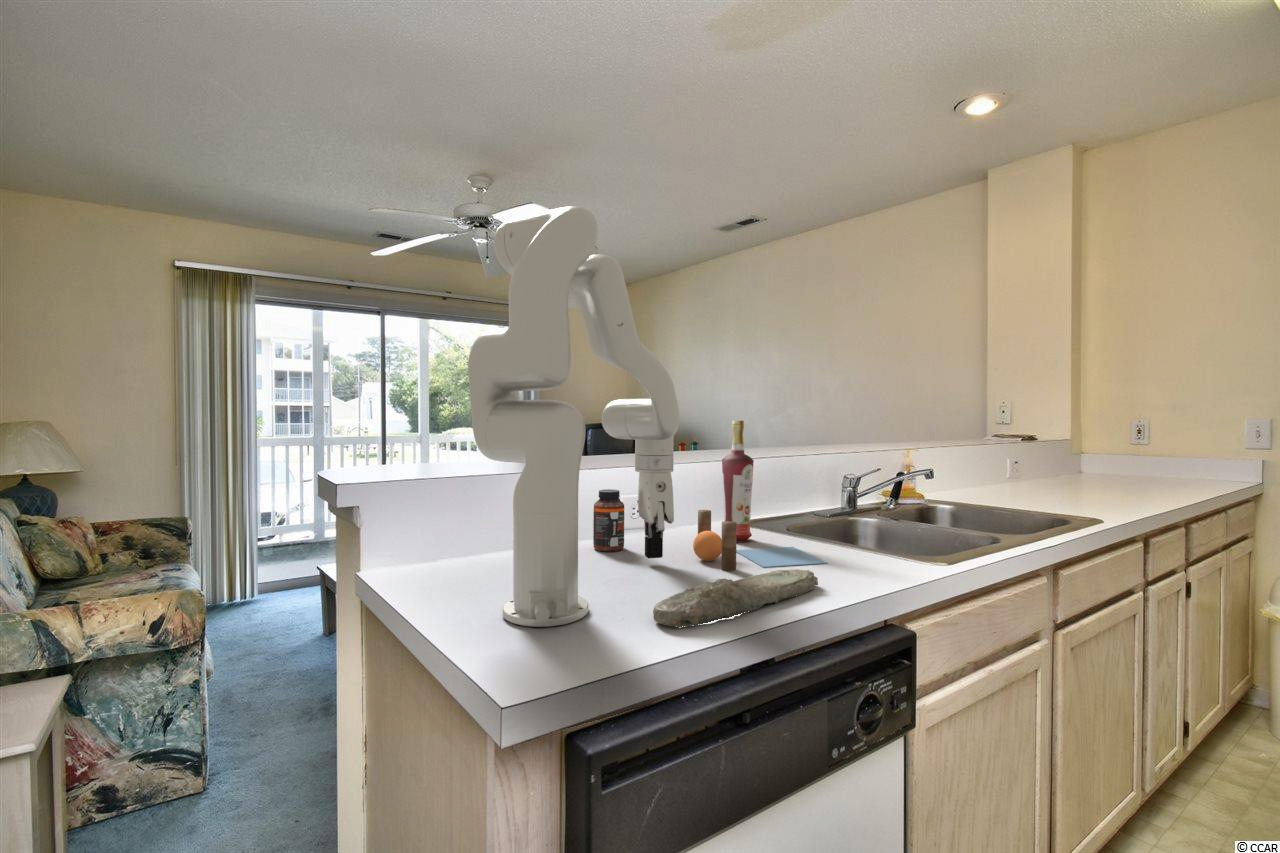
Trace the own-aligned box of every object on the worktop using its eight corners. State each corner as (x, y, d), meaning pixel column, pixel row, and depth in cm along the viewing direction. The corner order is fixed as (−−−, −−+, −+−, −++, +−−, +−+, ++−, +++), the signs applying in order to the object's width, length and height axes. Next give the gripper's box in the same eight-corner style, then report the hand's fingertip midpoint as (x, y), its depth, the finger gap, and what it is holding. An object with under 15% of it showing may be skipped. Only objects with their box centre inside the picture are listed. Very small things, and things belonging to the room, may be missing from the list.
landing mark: (827, 563, 117) (827, 562, 117) (763, 567, 114) (763, 566, 114) (792, 547, 131) (792, 546, 131) (734, 551, 127) (734, 550, 127)
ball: (727, 532, 117) (699, 537, 115) (729, 561, 117) (701, 567, 115) (714, 525, 122) (687, 530, 121) (716, 553, 123) (689, 558, 121)
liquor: (738, 545, 133) (739, 421, 132) (714, 539, 139) (715, 420, 138) (759, 540, 138) (760, 420, 137) (735, 535, 143) (736, 420, 143)
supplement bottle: (623, 552, 125) (623, 492, 125) (591, 552, 125) (591, 492, 125) (625, 545, 132) (625, 488, 132) (594, 545, 132) (595, 488, 132)
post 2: (738, 570, 111) (738, 523, 111) (724, 571, 111) (725, 524, 110) (732, 567, 114) (733, 520, 114) (719, 568, 113) (719, 521, 113)
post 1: (712, 554, 124) (713, 511, 124) (700, 555, 123) (700, 512, 123) (708, 551, 127) (708, 509, 127) (695, 551, 126) (696, 510, 126)
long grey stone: (833, 599, 100) (785, 589, 108) (833, 568, 100) (785, 559, 108) (685, 638, 78) (637, 621, 85) (685, 597, 78) (637, 584, 86)
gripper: (684, 467, 109) (683, 565, 109) (661, 460, 123) (661, 547, 124) (645, 467, 107) (644, 568, 107) (626, 460, 121) (626, 549, 122)
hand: (653, 556), depth 115 cm, fingers closed
